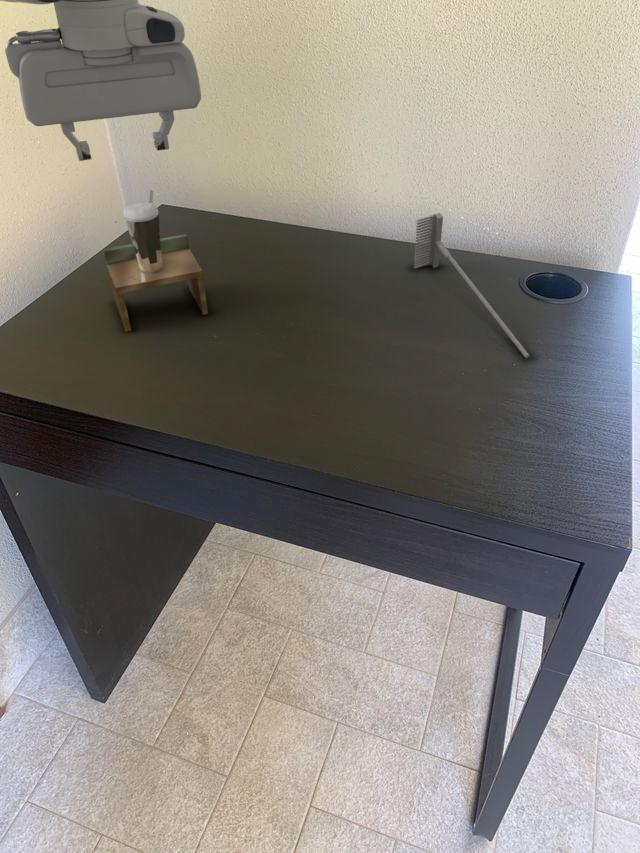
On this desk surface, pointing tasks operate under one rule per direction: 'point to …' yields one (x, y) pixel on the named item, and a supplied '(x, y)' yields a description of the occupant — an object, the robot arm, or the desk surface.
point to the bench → (175, 269)
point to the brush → (433, 252)
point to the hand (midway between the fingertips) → (124, 153)
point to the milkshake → (145, 234)
